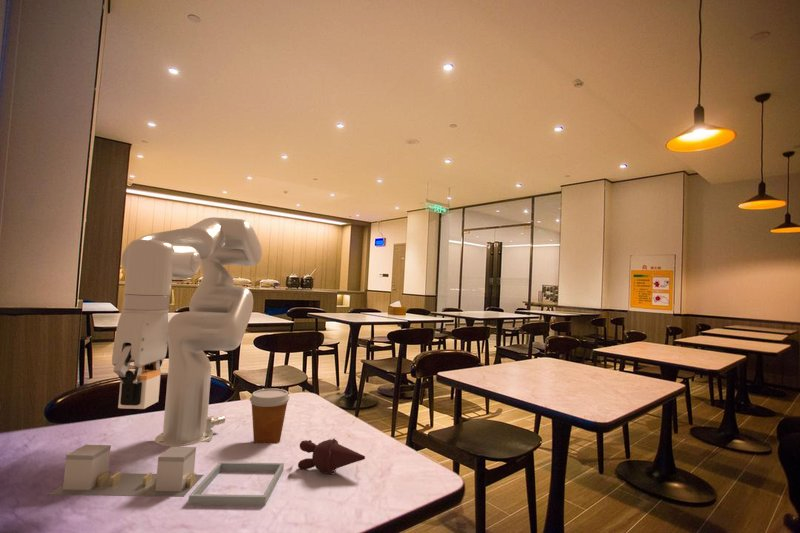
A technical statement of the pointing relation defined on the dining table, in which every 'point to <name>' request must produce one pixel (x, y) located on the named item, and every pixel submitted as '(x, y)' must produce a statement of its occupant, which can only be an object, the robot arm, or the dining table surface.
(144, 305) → the robot arm
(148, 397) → the block
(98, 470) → the fuse
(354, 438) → the dining table surface
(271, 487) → the tray
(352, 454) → the icecream
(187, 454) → the block
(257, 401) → the disposable coffee cup
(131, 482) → the fuse panel
